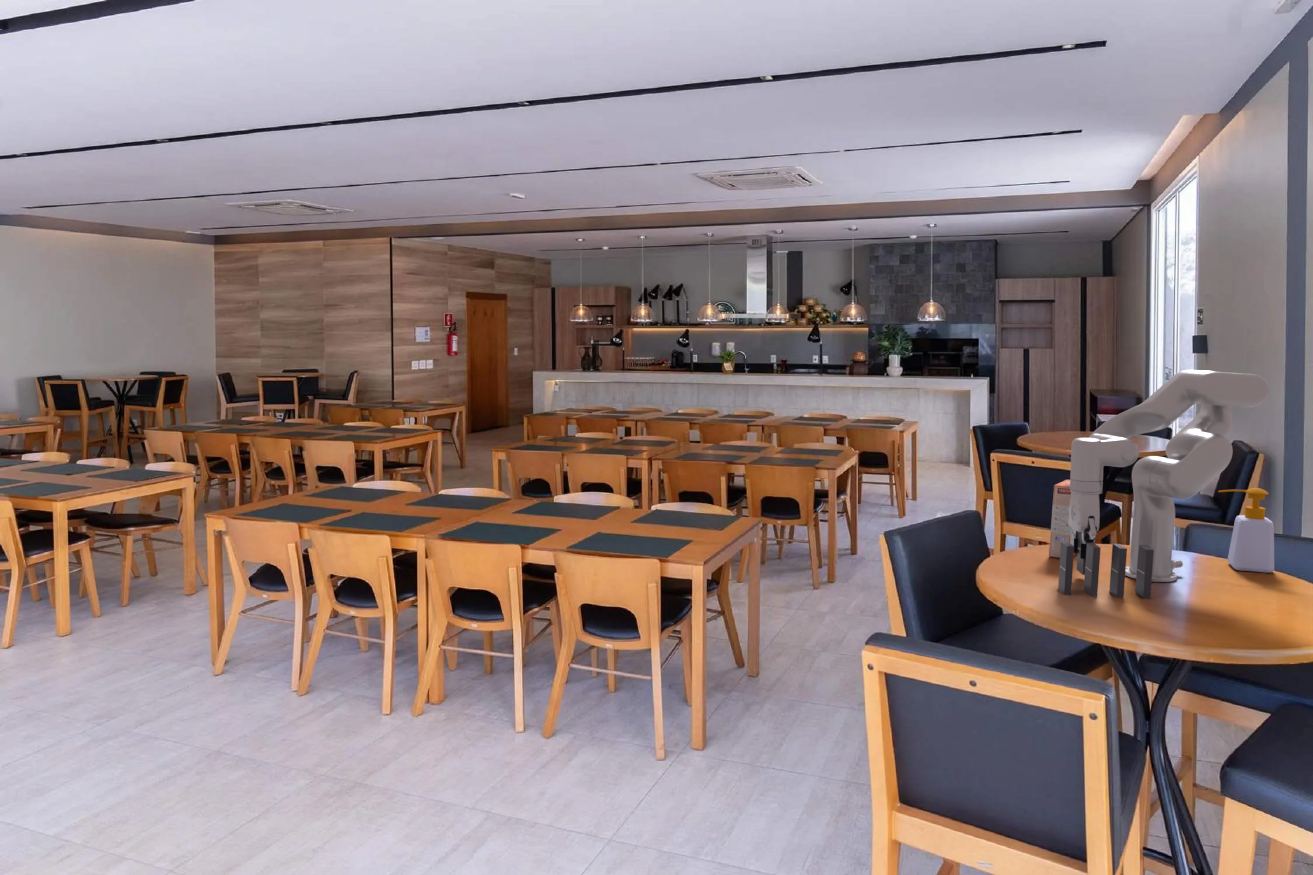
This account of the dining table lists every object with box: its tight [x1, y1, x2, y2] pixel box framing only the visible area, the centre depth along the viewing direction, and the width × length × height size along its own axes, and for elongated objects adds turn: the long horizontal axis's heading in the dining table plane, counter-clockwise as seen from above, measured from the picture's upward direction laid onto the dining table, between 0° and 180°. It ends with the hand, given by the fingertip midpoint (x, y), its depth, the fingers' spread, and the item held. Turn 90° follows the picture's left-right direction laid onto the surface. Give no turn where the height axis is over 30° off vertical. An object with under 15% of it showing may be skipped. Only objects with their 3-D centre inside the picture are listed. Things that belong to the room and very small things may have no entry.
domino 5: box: [1134, 545, 1154, 600], centre depth 221 cm, size 2×5×12 cm, turn 172°
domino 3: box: [1083, 542, 1102, 597], centre depth 223 cm, size 2×5×12 cm, turn 172°
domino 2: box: [1076, 529, 1089, 576], centre depth 235 cm, size 2×5×12 cm, turn 172°
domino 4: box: [1108, 543, 1128, 598], centre depth 222 cm, size 2×5×12 cm, turn 172°
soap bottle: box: [1218, 487, 1275, 574], centre depth 249 cm, size 10×14×22 cm
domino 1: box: [1057, 542, 1075, 596], centre depth 224 cm, size 2×5×12 cm, turn 172°
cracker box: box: [1048, 479, 1077, 559], centre depth 262 cm, size 14×6×21 cm, turn 142°
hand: (1083, 555), depth 236 cm, fingers closed on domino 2, 4 cm apart
